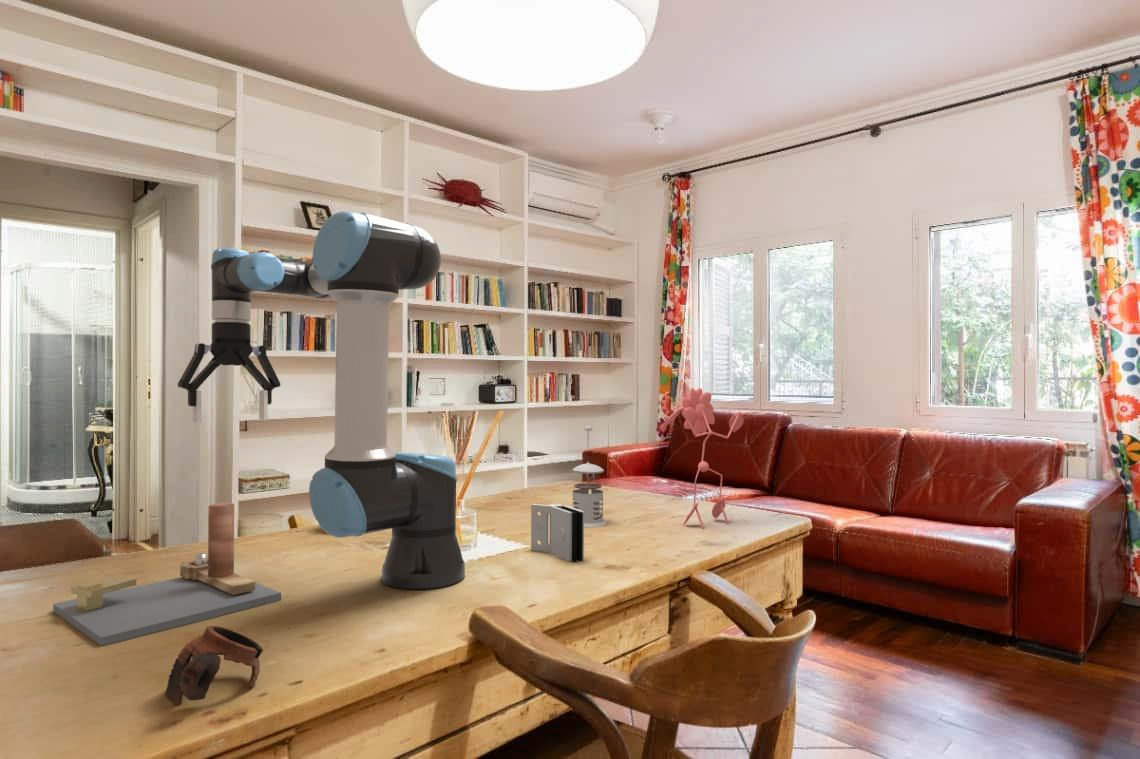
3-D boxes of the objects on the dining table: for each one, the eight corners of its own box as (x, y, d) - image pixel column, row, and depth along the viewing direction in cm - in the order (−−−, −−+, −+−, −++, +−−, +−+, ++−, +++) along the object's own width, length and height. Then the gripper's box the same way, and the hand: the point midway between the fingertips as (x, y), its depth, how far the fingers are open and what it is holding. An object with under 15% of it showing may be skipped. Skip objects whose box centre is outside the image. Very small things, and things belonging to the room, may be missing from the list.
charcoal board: (281, 599, 116) (281, 592, 116) (101, 646, 96) (101, 637, 96) (221, 575, 130) (221, 569, 130) (53, 611, 109) (53, 603, 109)
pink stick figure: (752, 520, 182) (750, 387, 182) (682, 533, 167) (680, 388, 167) (709, 512, 194) (707, 387, 195) (639, 523, 179) (638, 388, 180)
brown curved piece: (172, 682, 86) (210, 618, 88) (243, 713, 86) (278, 648, 89) (135, 700, 74) (179, 626, 77) (217, 736, 75) (258, 661, 78)
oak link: (176, 574, 124) (177, 500, 124) (210, 567, 129) (210, 495, 129) (226, 596, 112) (226, 514, 112) (261, 588, 117) (261, 508, 117)
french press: (565, 526, 174) (566, 426, 174) (573, 517, 185) (573, 423, 185) (604, 528, 172) (605, 427, 172) (609, 518, 184) (610, 424, 184)
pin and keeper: (215, 576, 125) (215, 554, 125) (91, 613, 105) (91, 587, 105) (195, 573, 127) (195, 551, 127) (70, 608, 107) (71, 582, 107)
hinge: (529, 550, 150) (530, 504, 150) (548, 546, 153) (548, 501, 153) (573, 563, 140) (574, 513, 140) (592, 558, 143) (592, 510, 143)
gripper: (281, 326, 160) (281, 417, 160) (161, 319, 142) (160, 422, 142) (296, 324, 155) (295, 419, 155) (172, 317, 137) (172, 424, 137)
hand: (231, 421), depth 149 cm, fingers open, 13 cm apart
